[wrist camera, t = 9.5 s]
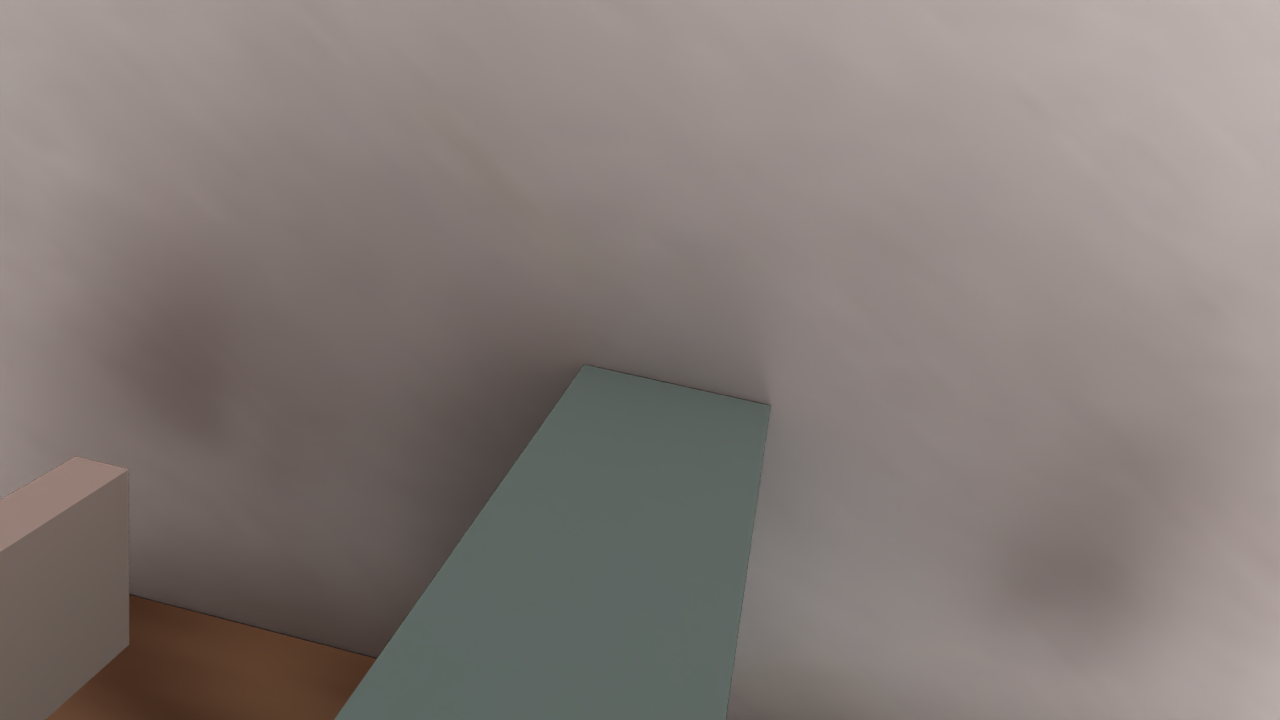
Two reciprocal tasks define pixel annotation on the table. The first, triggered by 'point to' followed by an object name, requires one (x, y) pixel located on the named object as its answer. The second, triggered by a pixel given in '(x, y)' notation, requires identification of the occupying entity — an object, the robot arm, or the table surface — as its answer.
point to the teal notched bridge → (591, 569)
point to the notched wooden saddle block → (214, 673)
